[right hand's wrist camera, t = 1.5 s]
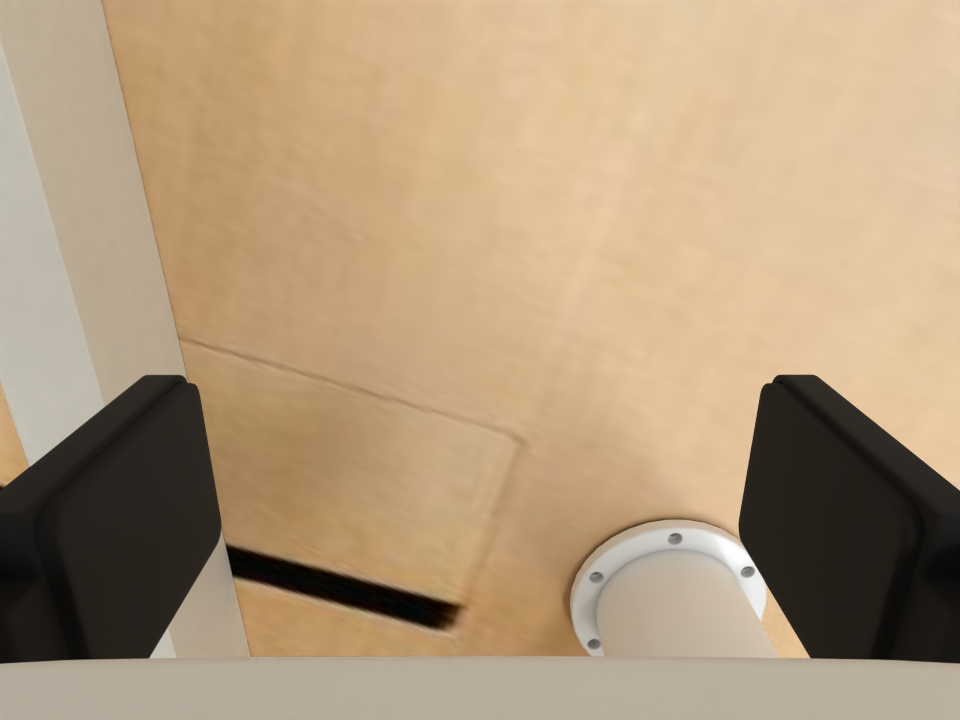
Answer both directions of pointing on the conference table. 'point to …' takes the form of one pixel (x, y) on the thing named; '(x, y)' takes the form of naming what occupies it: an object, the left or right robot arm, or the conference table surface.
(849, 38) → the conference table surface
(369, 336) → the conference table surface
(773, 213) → the conference table surface
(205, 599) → the bar
